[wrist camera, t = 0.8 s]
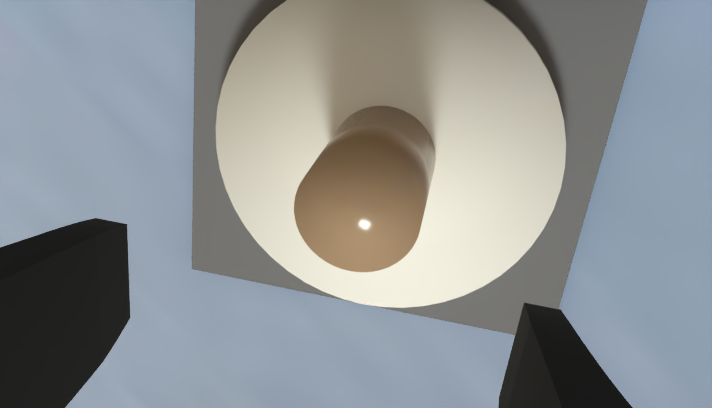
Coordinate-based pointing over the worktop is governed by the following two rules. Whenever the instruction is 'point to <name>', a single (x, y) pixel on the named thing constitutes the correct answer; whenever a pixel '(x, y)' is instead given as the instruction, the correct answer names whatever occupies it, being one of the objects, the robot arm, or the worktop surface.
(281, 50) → the lid
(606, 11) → the mat
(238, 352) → the worktop surface
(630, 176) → the worktop surface
